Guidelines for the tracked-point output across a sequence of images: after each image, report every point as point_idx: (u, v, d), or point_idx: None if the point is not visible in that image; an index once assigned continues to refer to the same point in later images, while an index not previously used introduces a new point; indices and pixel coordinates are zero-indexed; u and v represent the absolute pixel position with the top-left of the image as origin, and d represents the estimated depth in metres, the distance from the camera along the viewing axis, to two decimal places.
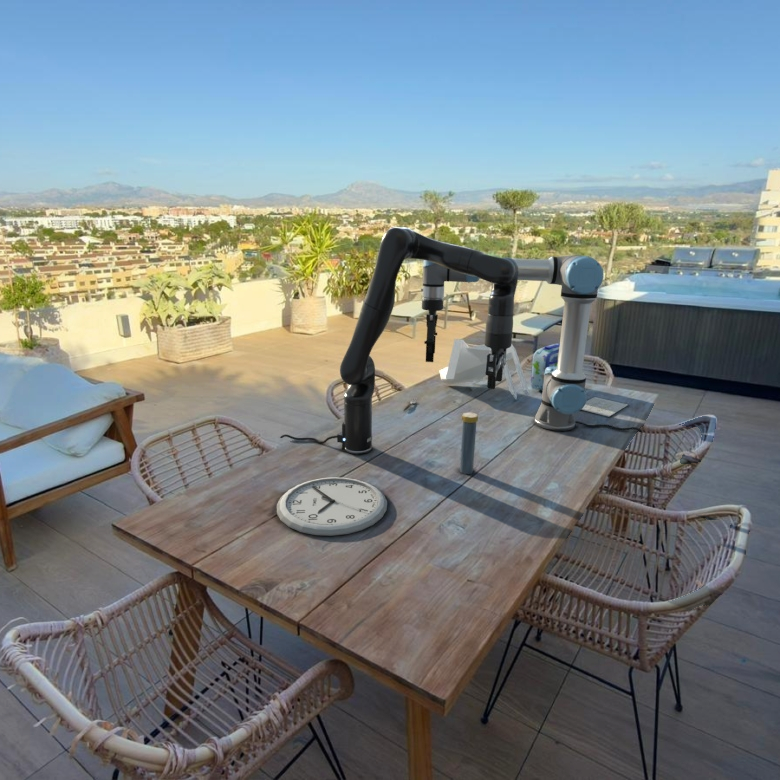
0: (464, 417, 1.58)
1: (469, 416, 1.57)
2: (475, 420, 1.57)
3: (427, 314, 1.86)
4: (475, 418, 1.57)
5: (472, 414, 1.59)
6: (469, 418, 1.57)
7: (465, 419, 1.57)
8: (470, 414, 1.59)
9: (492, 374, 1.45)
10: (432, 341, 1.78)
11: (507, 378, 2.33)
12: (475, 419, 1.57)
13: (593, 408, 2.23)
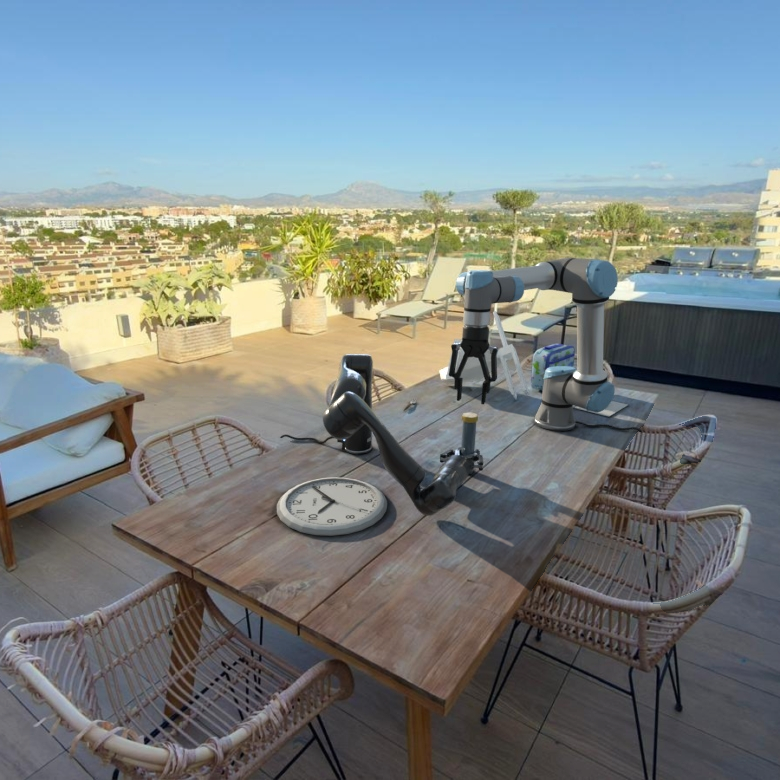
0: (464, 417, 1.58)
1: (469, 416, 1.57)
2: (475, 420, 1.57)
3: None
4: (475, 418, 1.57)
5: (472, 414, 1.59)
6: (469, 418, 1.57)
7: (465, 419, 1.57)
8: (470, 414, 1.59)
9: None
10: None
11: (507, 378, 2.33)
12: (475, 419, 1.57)
13: None
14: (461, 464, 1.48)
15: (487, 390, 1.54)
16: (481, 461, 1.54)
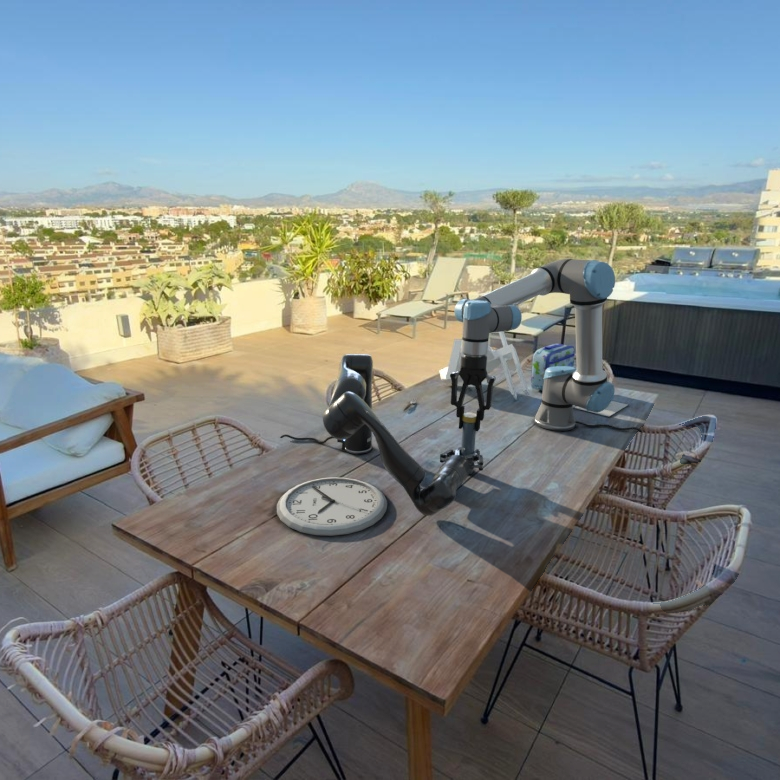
0: (464, 417, 1.58)
1: (469, 416, 1.57)
2: (475, 420, 1.57)
3: None
4: (475, 418, 1.57)
5: (472, 414, 1.59)
6: (469, 418, 1.57)
7: (465, 419, 1.57)
8: (470, 414, 1.59)
9: None
10: None
11: (507, 378, 2.33)
12: (475, 419, 1.57)
13: None
14: (461, 464, 1.48)
15: (481, 418, 1.57)
16: (481, 461, 1.54)
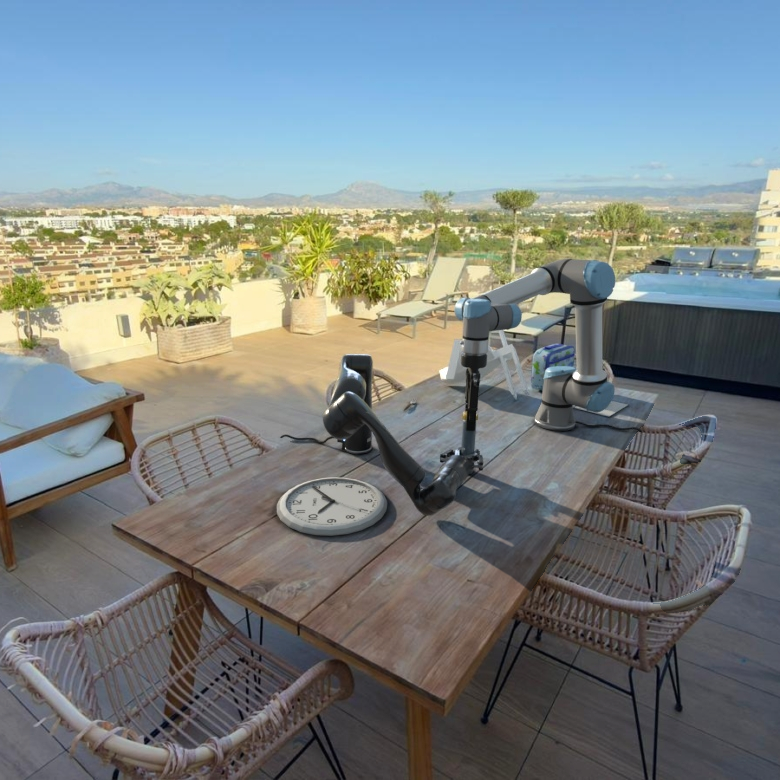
0: (476, 416, 1.57)
1: None
2: None
3: (466, 370, 1.56)
4: None
5: None
6: None
7: (477, 417, 1.58)
8: None
9: None
10: (476, 409, 1.52)
11: (507, 378, 2.33)
12: None
13: None
14: (461, 464, 1.48)
15: None
16: (481, 461, 1.54)
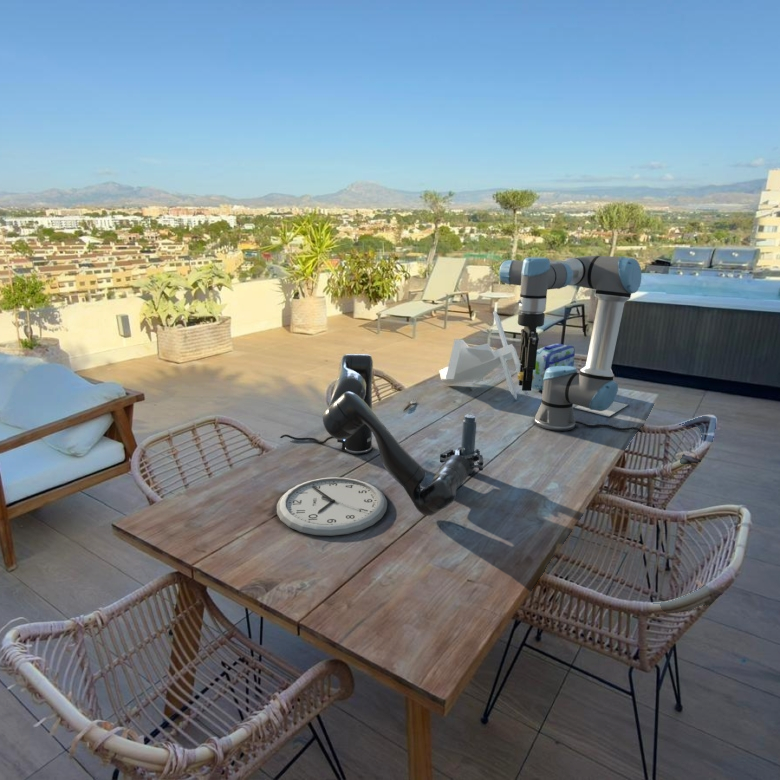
0: None
1: None
2: None
3: (523, 330, 1.56)
4: None
5: None
6: None
7: (533, 377, 1.58)
8: None
9: None
10: (534, 367, 1.52)
11: (507, 378, 2.33)
12: None
13: None
14: (461, 464, 1.48)
15: None
16: (481, 461, 1.54)
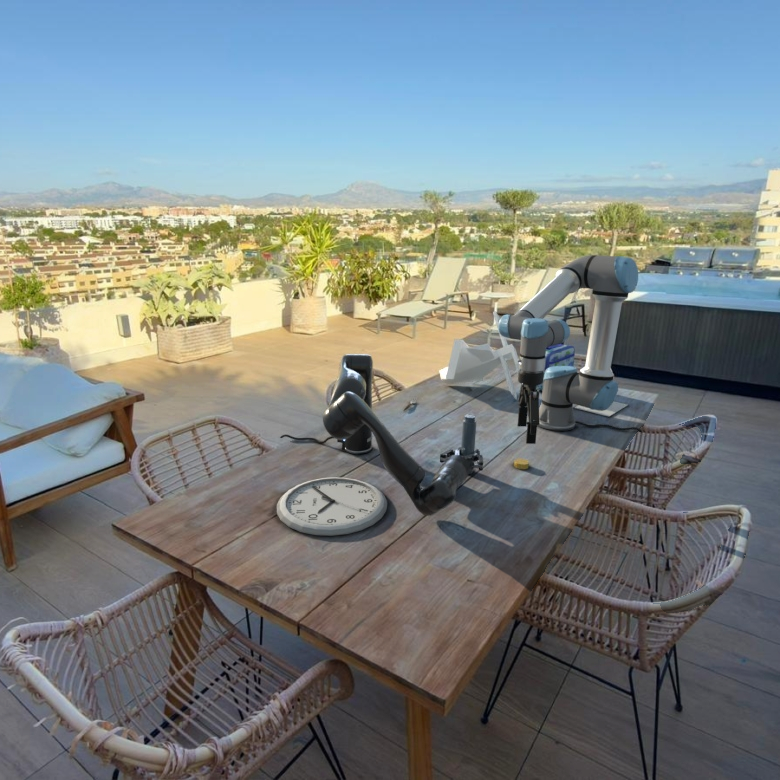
0: (528, 464, 1.67)
1: (526, 461, 1.68)
2: None
3: (523, 387, 1.62)
4: None
5: (519, 460, 1.68)
6: None
7: (528, 464, 1.67)
8: (520, 461, 1.68)
9: None
10: (538, 423, 1.53)
11: (507, 378, 2.33)
12: None
13: None
14: (461, 464, 1.48)
15: None
16: (481, 461, 1.54)
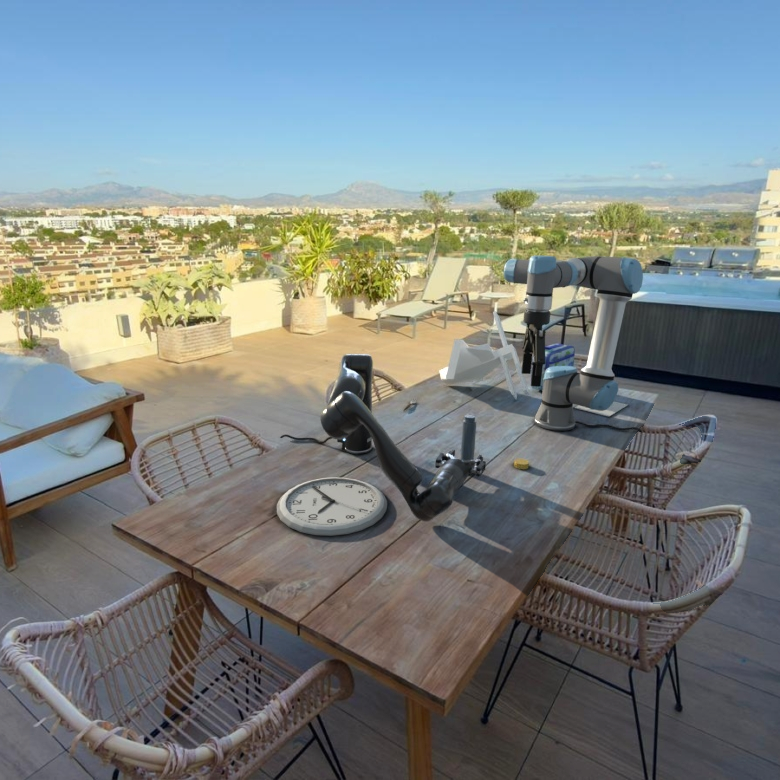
0: (528, 464, 1.67)
1: (526, 461, 1.68)
2: None
3: (529, 329, 1.56)
4: None
5: (519, 460, 1.68)
6: None
7: (528, 464, 1.67)
8: (520, 461, 1.68)
9: None
10: (543, 362, 1.48)
11: (507, 378, 2.33)
12: None
13: None
14: (458, 468, 1.46)
15: None
16: (479, 467, 1.51)
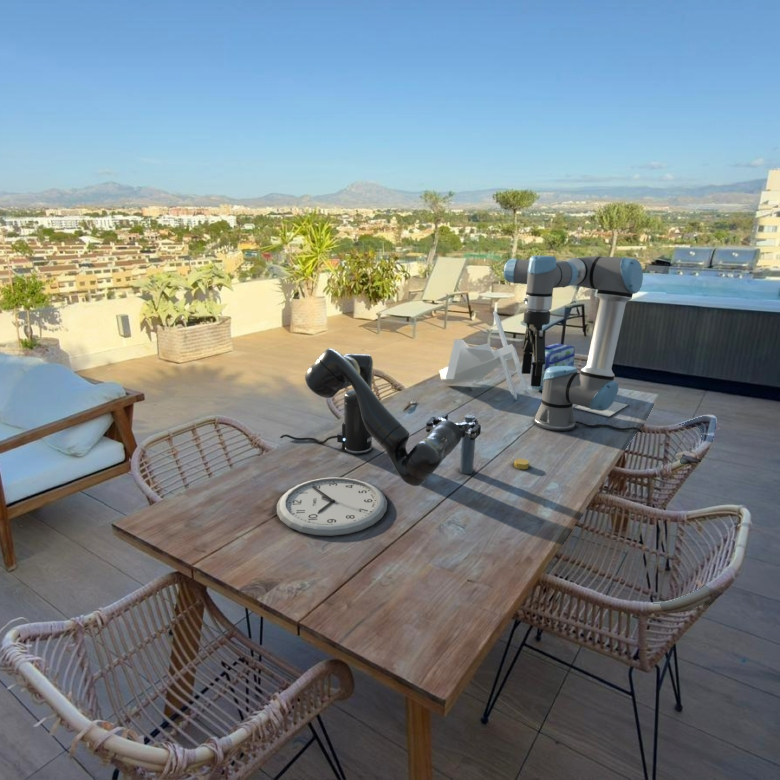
0: (528, 464, 1.67)
1: (526, 461, 1.68)
2: None
3: (529, 329, 1.56)
4: None
5: (519, 460, 1.68)
6: None
7: (528, 464, 1.67)
8: (520, 461, 1.68)
9: None
10: (543, 362, 1.48)
11: (507, 378, 2.33)
12: None
13: None
14: (451, 430, 1.33)
15: None
16: (473, 430, 1.38)
